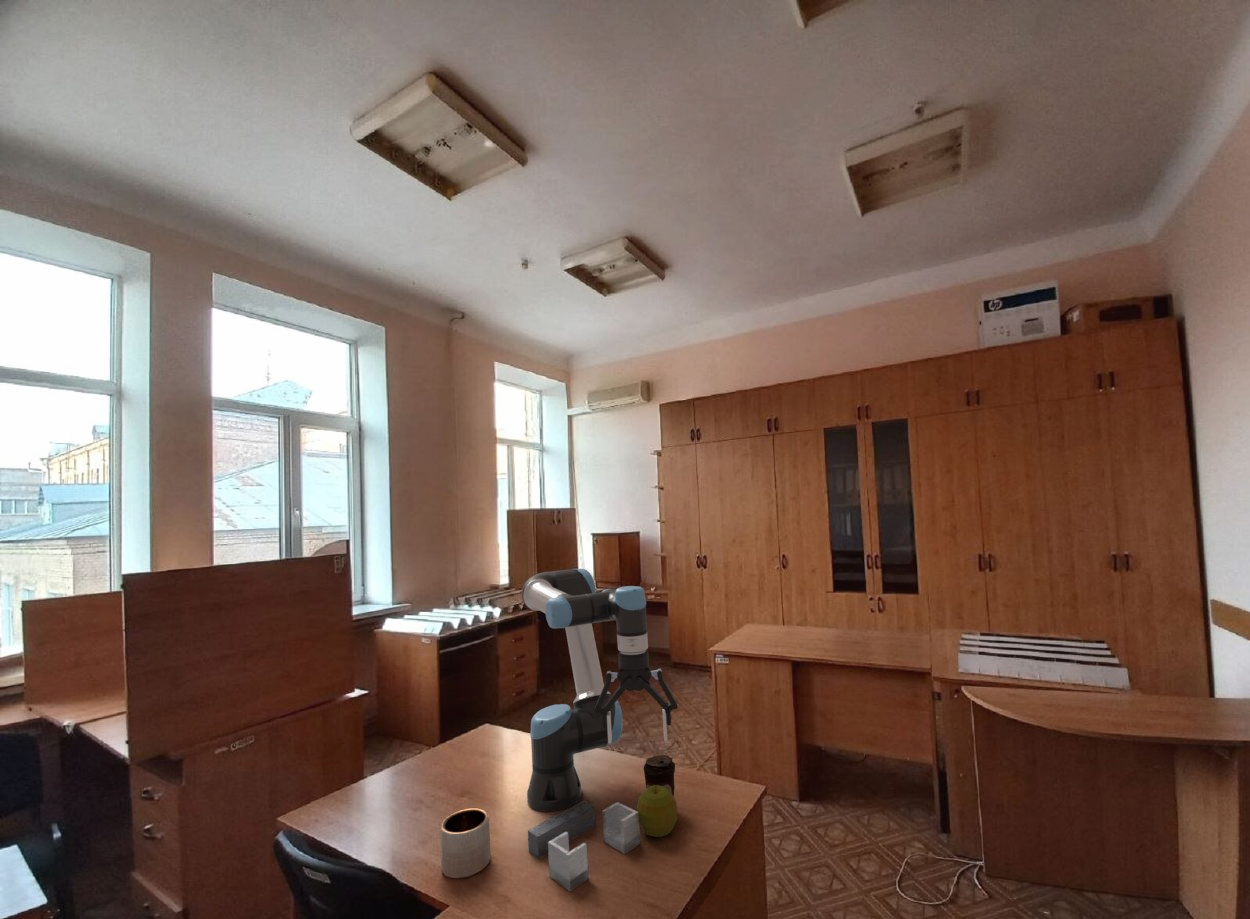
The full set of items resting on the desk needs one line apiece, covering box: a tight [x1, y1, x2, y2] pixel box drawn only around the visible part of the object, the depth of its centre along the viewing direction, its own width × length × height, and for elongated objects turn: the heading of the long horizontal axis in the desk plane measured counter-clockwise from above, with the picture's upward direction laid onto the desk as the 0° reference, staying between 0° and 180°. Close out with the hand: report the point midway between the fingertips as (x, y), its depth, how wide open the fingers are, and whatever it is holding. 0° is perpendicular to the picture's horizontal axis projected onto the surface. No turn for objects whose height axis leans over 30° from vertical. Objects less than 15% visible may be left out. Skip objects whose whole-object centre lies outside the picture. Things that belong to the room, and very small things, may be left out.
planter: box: [440, 807, 492, 879], centre depth 122 cm, size 11×11×10 cm
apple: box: [636, 785, 678, 838], centre depth 129 cm, size 10×10×11 cm
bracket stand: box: [547, 801, 641, 892], centre depth 120 cm, size 7×21×7 cm, turn 134°
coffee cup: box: [643, 754, 676, 798], centre depth 138 cm, size 9×8×13 cm
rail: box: [527, 800, 596, 860], centre depth 129 cm, size 4×17×5 cm, turn 133°
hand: (637, 740), depth 129 cm, fingers open, 13 cm apart
